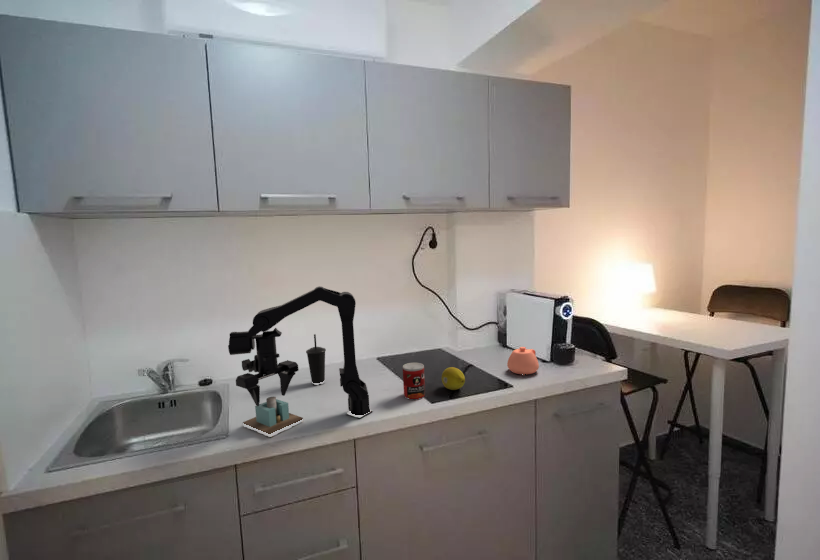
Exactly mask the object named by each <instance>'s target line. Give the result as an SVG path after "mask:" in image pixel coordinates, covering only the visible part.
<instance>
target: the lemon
mask: <svg viewBox="0 0 820 560" xmlns="http://www.w3.org/2000/svg"><path fill="white" fill-rule="evenodd" d="M440 377H441V383H442V384H443V386H444V387H445V388H446V389H448V390H451V391H456V390H460V389H461V388H462V387H464V385H465V383H466V377H465V374H464V373H463V371H461V370H460V369H459V368H457V367H453V366H451V367H447V368H446V369H444V370H443V371H442V374H441V376H440Z"/></svg>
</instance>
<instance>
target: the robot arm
mask: <svg viewBox="0 0 820 560" xmlns="http://www.w3.org/2000/svg"><path fill="white" fill-rule="evenodd" d="M317 302H323V303H326V304H328V305H330V306H334V307H337V311H338V315H339V318H340V321H341V333H342V349H343V368H342V367H341V368H339V369H338V371H339V377H340V378H339V384H340V385H339V386H340V387H341V388H342V390H343V392H344V393H346V394H347V397H348V398H347V406H348V411H351V413H352V414H355V415H364V414H366V413H368V412H370V409H371V408H370V397H369V396H370V395H369V390H368V386H367V384H366V382H364V381H363V380H362V379H361V378H360V374H359V371H358V367H357V359H356V347H355V345H356V344H355V331H354V330H355V329H354V317H355V312H356V299H355V296H354V295H353V294H352V293H351V292H349V291H342V292H339V291H336V290H332V289H330V288H329V289H328V288H325V287H323V286H316V287H315V288H314V289H312V290H309V291H308V292H306V293H303V294H302V295H299V296H298V297H295V298H293V299H291V300H290V301H287V302H285V303H283V304H281V305H277V306H272V307H269V308H265V309H261V310H260V311H258V313H256V315H255V316H254V317H253V319H252V326H251V327H250V328H249V329H248V331H232V332H230V333H229V339H228V345H227V348H228V353H229V355H230V356H235V355H243V354H244V355H245V354H251V353H252V351H253V350H255V349H256V354H255V355H254V358H253V360H250V359H249V358H248V359H243V360H241V369H242V371H243V372H246V371H248V372H247V373H243V374H241V375H238V376H237V377H236V378H235V386H237V387H238V388H239V387H240V388H242V389H245V390H247V392H248V393H249V395H250V396H251V399H252V401H253V403H254V404H255V406H259V404H261V403H260V400H261V399H260V398H261V397H260V396H261V394H260V391H261V387H260V386H261V385H259V383H260V380H263V379H266V378H268V377H271V376H274V375H275V376H276V375H278V377H279V384H280V393H281V396H283V397H284V396H285V395H286V393H287V391H288V389H289V386H290V384H291V381H292V379H293V377H294V376H295V375H296V372H299V364H298V363H297V361H291V360H288V359H287V360H283V361H281V362H279V363H278V358H280V353H277V343H276V342H277V340H276V338H278V337H281V335H282V334H283V333H282V331H280V330H279V329H278V328H277V327H275V328H274V329H273V330H270V329H272V328H273V327H274V326H276V325H277V324H279V323H280V322H281V321H283V320H284V319H285V318H287V317H289V316H290V315H293V314H295V313H297V312H299V311H301V310H303V309H305V308H307V307H309V306H311V305H313V304H315V303H317ZM261 332H262V333H261ZM259 333H261V334H259ZM255 347H256V348H255ZM252 372H254V373H255V374H252Z"/></svg>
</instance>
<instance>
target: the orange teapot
mask: <svg viewBox="0 0 820 560" xmlns="http://www.w3.org/2000/svg"><path fill="white" fill-rule="evenodd" d="M506 366H507V368H508V370H509V371H511V372H512V373H514V374H517V375H521V374H523V375H522V376H526V375H532V374H534V373H536V372H537V371H538V370H539V368H540V365H539V361H538V358H537V356H536V350H535V349H534V348H530V349H528V348H526V347H525V346H520V347H519V348H516V349H514V350H512V351H511V354H510V355H509V356H508V360H507V365H506ZM525 374H526V375H525Z"/></svg>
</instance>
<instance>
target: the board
mask: <svg viewBox="0 0 820 560" xmlns="http://www.w3.org/2000/svg"><path fill="white" fill-rule="evenodd" d="M276 399H277V397H276V396H269V397H267V398H266V401H265V402H267V408H272V407H273V408H275V413H276V424H275V425H273V426H271V427H269V426H266V425H264V424H261V423H259V422H257V421H256V416H255V417H252V418H250V419H248V420H244V421H243V422H242V424H243V423H244V424H246V425H249V426H251V427H253V428H256V429H258V430H261V431H263V432H266V433H268V434H271V433H273V432H275V431H277V430H280V429H282V428H284V427H286V426H289V425H291V424H293V423H296V422H298V421H300V420H302V419H303V420H304V417H302V416H299V415H297V414H293V413H291V412H289V419H286V420H284V421H282V420H281V419H280V415H277V406H276Z"/></svg>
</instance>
